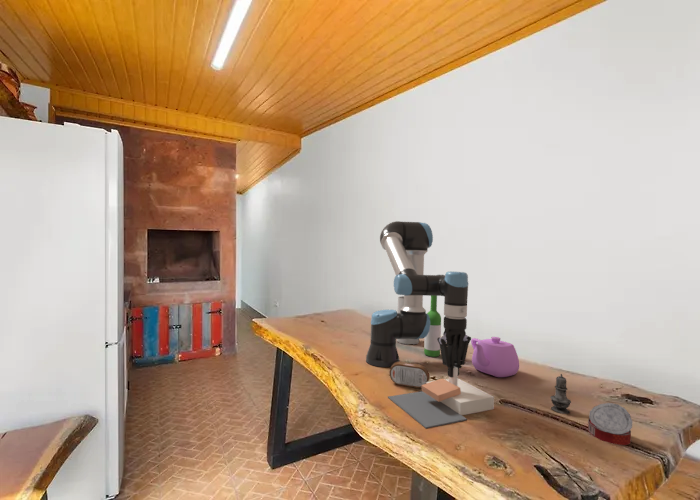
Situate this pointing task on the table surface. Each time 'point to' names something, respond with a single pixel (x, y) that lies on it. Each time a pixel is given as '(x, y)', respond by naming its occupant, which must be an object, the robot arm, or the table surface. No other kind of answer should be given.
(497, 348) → the teapot
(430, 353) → the wine bottle
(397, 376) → the tin
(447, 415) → the mat
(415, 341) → the cylinder vase
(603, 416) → the canned food
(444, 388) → the tile
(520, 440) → the table surface
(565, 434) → the table surface
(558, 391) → the dark grey turned piece
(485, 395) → the plate
